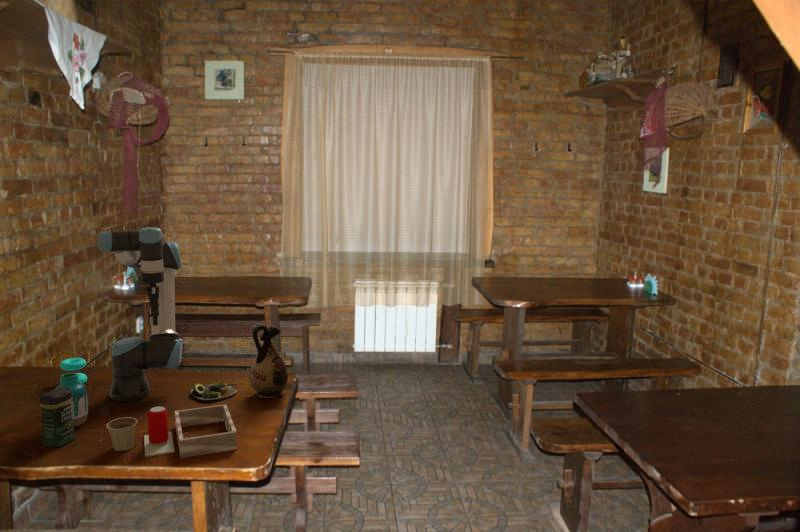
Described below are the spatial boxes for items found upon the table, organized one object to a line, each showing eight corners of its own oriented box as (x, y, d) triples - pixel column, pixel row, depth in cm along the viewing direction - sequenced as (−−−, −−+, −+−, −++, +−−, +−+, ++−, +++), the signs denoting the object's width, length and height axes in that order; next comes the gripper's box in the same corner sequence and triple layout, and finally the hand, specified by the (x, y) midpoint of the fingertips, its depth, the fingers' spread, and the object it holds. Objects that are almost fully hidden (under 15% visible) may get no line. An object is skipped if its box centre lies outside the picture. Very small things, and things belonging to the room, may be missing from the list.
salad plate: (226, 382, 269) (226, 372, 268) (247, 394, 256) (247, 383, 256) (184, 393, 256) (183, 382, 255) (204, 406, 243) (203, 394, 242)
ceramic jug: (274, 385, 266) (273, 317, 261) (295, 395, 255) (294, 324, 250) (239, 395, 254) (237, 324, 249) (259, 405, 243) (258, 332, 238)
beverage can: (168, 445, 207) (166, 411, 205) (148, 447, 205) (146, 413, 203) (169, 437, 213) (167, 404, 211) (150, 439, 211) (148, 406, 209)
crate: (175, 426, 223) (174, 410, 222) (226, 419, 230) (226, 404, 229) (180, 458, 199) (179, 440, 198) (237, 449, 206) (236, 432, 205)
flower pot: (127, 455, 201) (125, 430, 199) (101, 452, 203) (99, 427, 201) (144, 442, 210) (143, 418, 208) (120, 439, 212) (118, 416, 210)
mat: (144, 436, 214) (144, 435, 214) (171, 432, 218) (171, 431, 218) (145, 457, 200) (144, 455, 200) (174, 452, 203) (174, 450, 203)
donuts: (89, 361, 263) (63, 365, 256) (90, 383, 264) (65, 388, 258) (82, 355, 270) (56, 360, 263) (83, 377, 272) (58, 382, 265)
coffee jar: (58, 449, 204) (54, 396, 201) (38, 446, 206) (33, 393, 203) (79, 437, 213) (76, 386, 210) (60, 434, 215) (56, 383, 212)
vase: (55, 434, 215) (51, 381, 212) (56, 422, 224) (52, 372, 221) (89, 428, 220) (85, 377, 217) (88, 417, 229) (85, 368, 226)
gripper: (140, 266, 230) (143, 321, 233) (141, 278, 207) (144, 339, 211) (161, 265, 233) (164, 319, 236) (165, 276, 210) (168, 337, 214)
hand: (155, 329), depth 223 cm, fingers open, 13 cm apart
